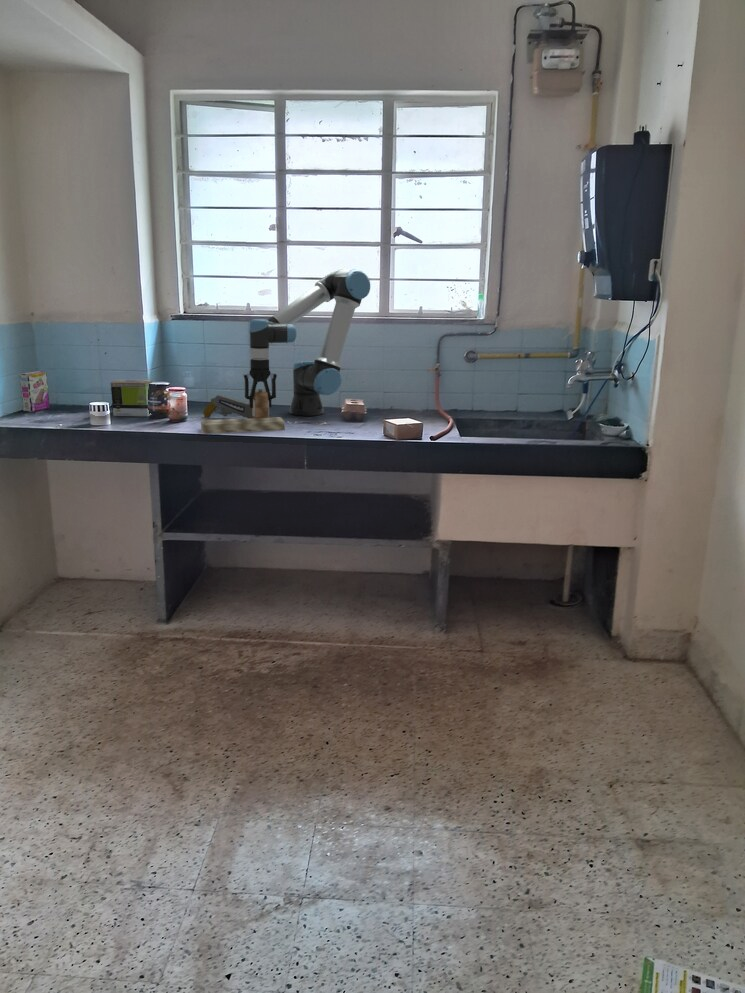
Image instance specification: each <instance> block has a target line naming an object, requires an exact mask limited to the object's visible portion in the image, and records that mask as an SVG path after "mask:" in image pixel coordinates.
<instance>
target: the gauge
mask: <svg viewBox="0 0 745 993" xmlns="http://www.w3.org/2000/svg"><path fill="white" fill-rule="evenodd" d="M253 400H255V416H254V418H269V416H268V393H267V392H266V390H263V389H261V388H260V389H258V390H255V394H254V398H253Z"/></svg>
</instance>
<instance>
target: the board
mask: <svg viewBox="0 0 745 993" xmlns="http://www.w3.org/2000/svg"><path fill="white" fill-rule="evenodd" d="M285 424H286V423H285V420H284V419H283V418H282V417H281V416H276V417H275V416H274V417H268V418H247V417H245V418H224V419H201V420H200V427H201V431H202V433H203V434H204V435H206V434H226V433H247V432H248V433H250V432H252V433H253V432H267V431H268V432H269V431H272V432H274V431H285V430H286V429H285V428H286V426H285Z"/></svg>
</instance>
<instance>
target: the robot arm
mask: <svg viewBox="0 0 745 993" xmlns="http://www.w3.org/2000/svg"><path fill="white" fill-rule="evenodd" d="M370 291H371V281H370V279H369V276H368V275H367V274H366V272H364V271H362V270H359V269H355V268H353V269H343V268H341V269H336V270H334V271H331V272H330V273H329V274H327V275H325V276H323V277H322V278H321V279H319V280H318V281H317V282H315V284H314V286H313V287H312V288H310V289H309V290H308V291H306V292H305V293H303V294H302V295H301V296H299V297H297V298H296V299H294V300H293V301H292V302H291V303H289V304H288V305H287V306H285V307H283V308H282V309H281V310H279V311H278V312H276V313H275V314H273V315H272V316H271V317H269V318H267V319H265V318H264V319H263V318H254V319H251V320H250V321H249V350H250V351H249V352H250V354H249V356H250V358H251V359H250V360H249V361H250V366H249V367H250V368H249V371H248V373H244V374H243V375H242V376H243V379H244V398H245V399H246V400H248V401H249V403H250V408H252V415H253V416H255V400H253V398H254V394H255V391H256V389H257V385H258V383H259V382H260V383H263V386H264V389H265V390H264V391H266V392H267V393H268V417H269V416H270V408H272V400H273V399H276V398H277V392H276V388H277V386H276V380H277V376H278V375H277V374H276V373H273V372H271V370H270V359H269V358H270V344H283V343H284V344H288V343H289V344H290V343H294V342H295V341H296V339H297V328H296V327H295V325H294V324H295V323H296V322H298V321H299V320H301V319H302V318H303V317H305V316H307V315H308V314H309V313H310V312H312V311H313V310H315V309H317V307H319V306H321V305H322V304H324V303H330V302H331V301H332V300H334V301H335V304H334V308H333V311H332V315H331V318H330V321H329V324H328V328H327V330H326V331H327V332H326V334H325V337H324V340H323V343H322V347H321V350H320V353H319V356H318V357H316V358H315V359H314V360H311V361H310V360H309V361H296V362H294V364H293V368H292V374H293V375H292V376H293V379H292V380H293V397H292V400H291V401H290V402H291V404H290V407H289V413H290V414H291V415H293V416H304V417H306V416H309V417H310V416H318V415H319V416H320V415H323V414H324V406H323V402H322V399H321V397H320V395H321V396H331V395H334V394H335V393H337V392H338V390H339V389H340V387H341V384H342V382H343V381H342V376H341V373H340V372H341V369H342V368H341V365H340V360H341V356H342V352H343V350H344V346H345V343H346V340H347V337H348V333H349V330H350V327H351V324H352V321H353V316H354V315H355V310H356V309H357V308H358V307H360V306H361V303H362V300H363V299H365V298H366V297H368V296H369V294H370ZM250 377H251V378H252V385H251V389H250V390H249V387H250V386H249V384H250V383H249V379H250ZM269 377H270V379H271V390H270V388H269V384H268V378H269ZM249 391H250V392H249Z"/></svg>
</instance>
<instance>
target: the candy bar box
mask: <svg viewBox="0 0 745 993" xmlns="http://www.w3.org/2000/svg"><path fill="white" fill-rule="evenodd" d="M19 380H20V381H19V382H20V383H19V384H20V391H21V401H22V403H21V404H22V409H23V412H26V413H34V412H39V411H44V410H48V409H50V398H49V397H50V396H49V389H48V388H49V387H48V385H49V384H48V375H47V371H43V370H42V371H40V370H38V371H31V372H25V373H24V372H23V373H19Z"/></svg>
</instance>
